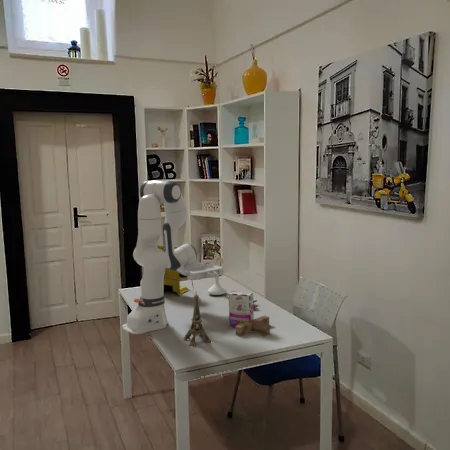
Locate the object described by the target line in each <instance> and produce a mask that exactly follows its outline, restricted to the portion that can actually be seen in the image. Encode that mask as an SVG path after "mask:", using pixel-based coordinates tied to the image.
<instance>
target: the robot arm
mask: <svg viewBox="0 0 450 450" xmlns="http://www.w3.org/2000/svg"><path fill="white" fill-rule="evenodd" d="M139 195H140V199H139V202H138V209H137V229H138V230H137V233H138V234H137V242H136V246H135V247H134V249H133V253H132V257H133V260H134V261H135V262H136V263H137V264H138V265H139V266H141V267H143V274H142V277H141V280H140V297H139V298H137V297H136V298H135V297H134V299H133V302H134V303H136V304H137V305H136V307H134V308H133V310H131V312H130V313H128V315H127V318H126V323H124V324H122V330H123V331H124V332H127V333H128V334H131V335H140V334H145V333H149V332H150V333H151V332H153V331H158V330H163V329H166V327H167V325H168V324H169V320H168V318H167V314H166V308H165V305H166V304H165V302H166V301H165V300H166V299H165V294H164V290H163V278H164V273H165V269H166V268H168V269H170V270H174V271H175V270H177V271H178V272H179V273H180V274H182V275H185V276H188V277H187V278H188V279H190V280H192V281H194V280H195V281H197V280H200V281H201V280H203V279H207V278H215V277H218V275H219V276H222V275H224V268H223V266H221V265H217V264H216V265H215V264H213V263H211V262H198V254H197V253H198V252H197V250H196V248H195V246H193V245H192V244H190V243H187V242H186V243H184V244H182V245H180V246H177V247H178V248H176V249H174V246H175V239H174V237H175V235H176V233H177V232H178V230H179V229H180V228H181V227H182V226H183V225H184V224H185V222H186V221H187V219H188V210H187V206H186V201H185V198H184V196H183V193H182V188H181V187H180V184H179V183H177V182H175V181H173V180H172V181H171V180H169V181H168V180H162V179H156V180H155V179H154V180H152V179H151V180H150V179H149V180H145V181H143V182H142V183H141V185H140V187H139ZM161 204H163V208H164V214H165V216H164V217H165V218H164V222H163V225H162V210H161ZM161 236H162V242H163V244H162V245H163V246H164V251H163V250H162V249H159V248H158V247H157V245H159V240H160V239H159V238H160V237H161Z"/></svg>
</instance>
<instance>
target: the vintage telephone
mask: <svg viewBox="0 0 450 450" xmlns="http://www.w3.org/2000/svg"><path fill="white" fill-rule="evenodd" d="M157 247H158V248H159V249H162V250H163V251H164V246H163V244H162V245H161V244H157ZM178 247H179V246H175V245H174V249H176V248H178ZM187 278H188V276H185V275H182V274H180V273H179V272H178V271H177V270H175V271H174V270H170V269H168V268H166V269H165V273H164V278H163V291H165V290H164V289H166V290H168V289H172V292H176V294H178V296H179V297H181V295H182V293H183V294H184V292H185V293H187V292H189V291H191V292H193V293H194V291H195V290H194V289H195V288H192V289H193V290H191V289H189V288H188V287H187V286H182V285H181V284H180V280H182V279H187ZM191 285H192V286H191V287H194V283H193V281H191ZM167 288H168V289H167ZM188 290H189V291H188ZM186 291H187V292H186ZM180 294H181V295H180Z"/></svg>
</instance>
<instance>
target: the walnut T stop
mask: <svg viewBox="0 0 450 450" xmlns="http://www.w3.org/2000/svg"><path fill="white" fill-rule="evenodd" d="M234 327H235V335H237V336H239V337H242V336H244V335H246V334H249V333H252V332H255V333H256V334H260V335H263V336H269V335H270V334H271V325H270V316H268V315H262V316H260V317H256V318H254V319H253V320H251V321H248V322H245V323H242V324H240V325H237V326H234ZM241 335H242V336H241Z"/></svg>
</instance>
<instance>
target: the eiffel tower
mask: <svg viewBox="0 0 450 450" xmlns="http://www.w3.org/2000/svg"><path fill="white" fill-rule="evenodd" d="M193 299H194V305H193V314H192V318H191V326H190V327H189V330H188V331H187V332H186V333H185V335H184V337H183V338H184V339H185V341H188V340H187V339H190V340H189V343H188V344H189V345H188V347H190V346H193V347H197V345H196V337H197V336H198V337H200V338H203V339H204V342H205V344H207V343H209V344H212V343H211V341H212V339H210V338H209V336H208V334H207V333H206V332H205V328H204V326H203V318H201V312H200V305H199V304H200V303H199V299H200V297H199V294H197V292H195V295H193ZM184 339H183V340H184ZM194 345H195V346H194Z"/></svg>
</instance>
